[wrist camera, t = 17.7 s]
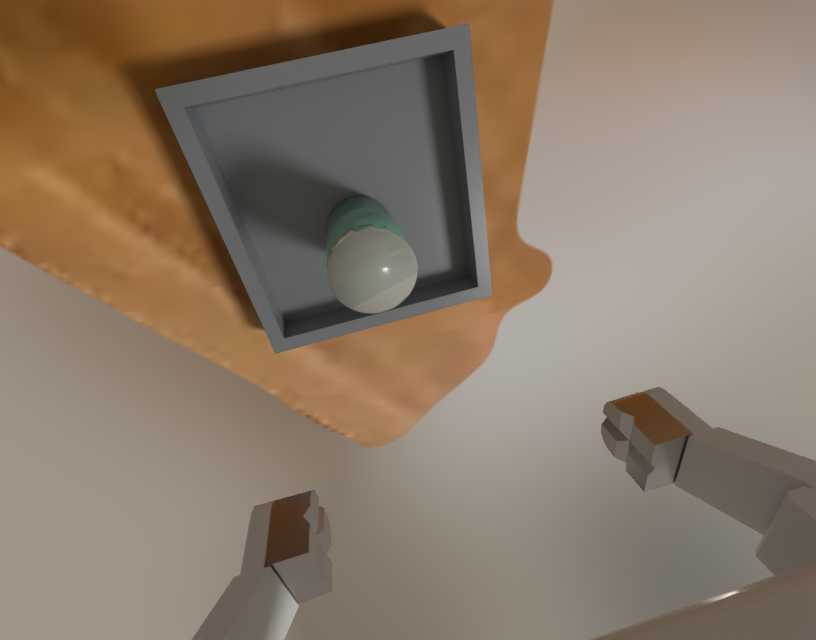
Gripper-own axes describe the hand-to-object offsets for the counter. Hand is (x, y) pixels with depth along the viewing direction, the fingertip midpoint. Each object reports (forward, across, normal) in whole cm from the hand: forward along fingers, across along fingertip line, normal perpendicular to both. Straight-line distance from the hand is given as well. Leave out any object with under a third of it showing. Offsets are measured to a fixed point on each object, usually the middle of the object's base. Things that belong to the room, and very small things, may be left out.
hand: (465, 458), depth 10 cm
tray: (+26, +1, -2) cm, 26 cm away
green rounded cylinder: (+25, +1, 0) cm, 25 cm away
